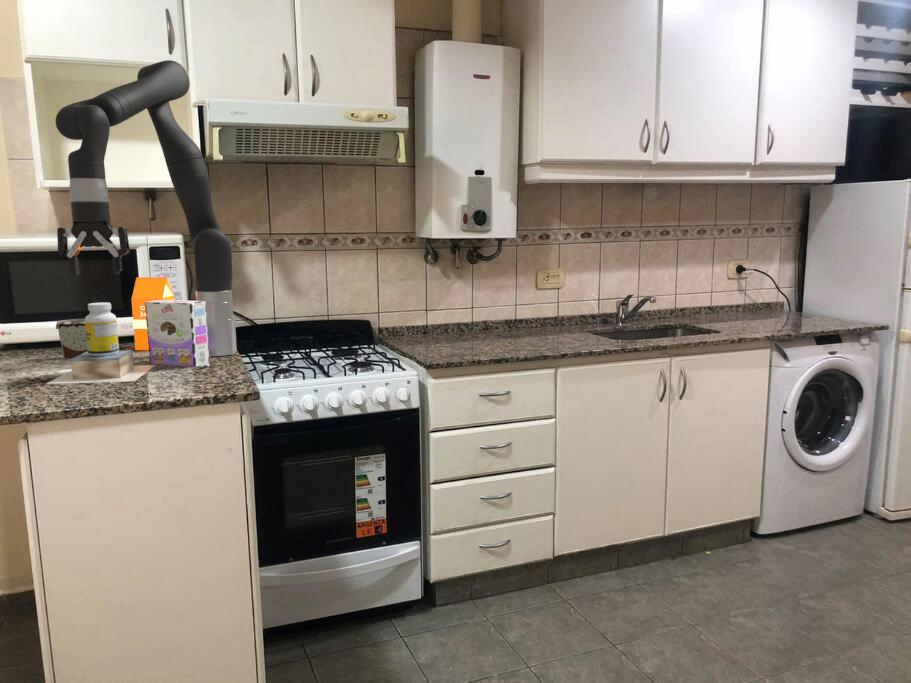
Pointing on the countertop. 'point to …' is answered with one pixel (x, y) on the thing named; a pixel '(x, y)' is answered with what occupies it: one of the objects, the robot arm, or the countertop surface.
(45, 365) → the countertop surface
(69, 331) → the food container
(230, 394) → the countertop surface
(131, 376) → the baseplate
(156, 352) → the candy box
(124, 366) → the plinth
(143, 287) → the orange juice
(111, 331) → the pill bottle
